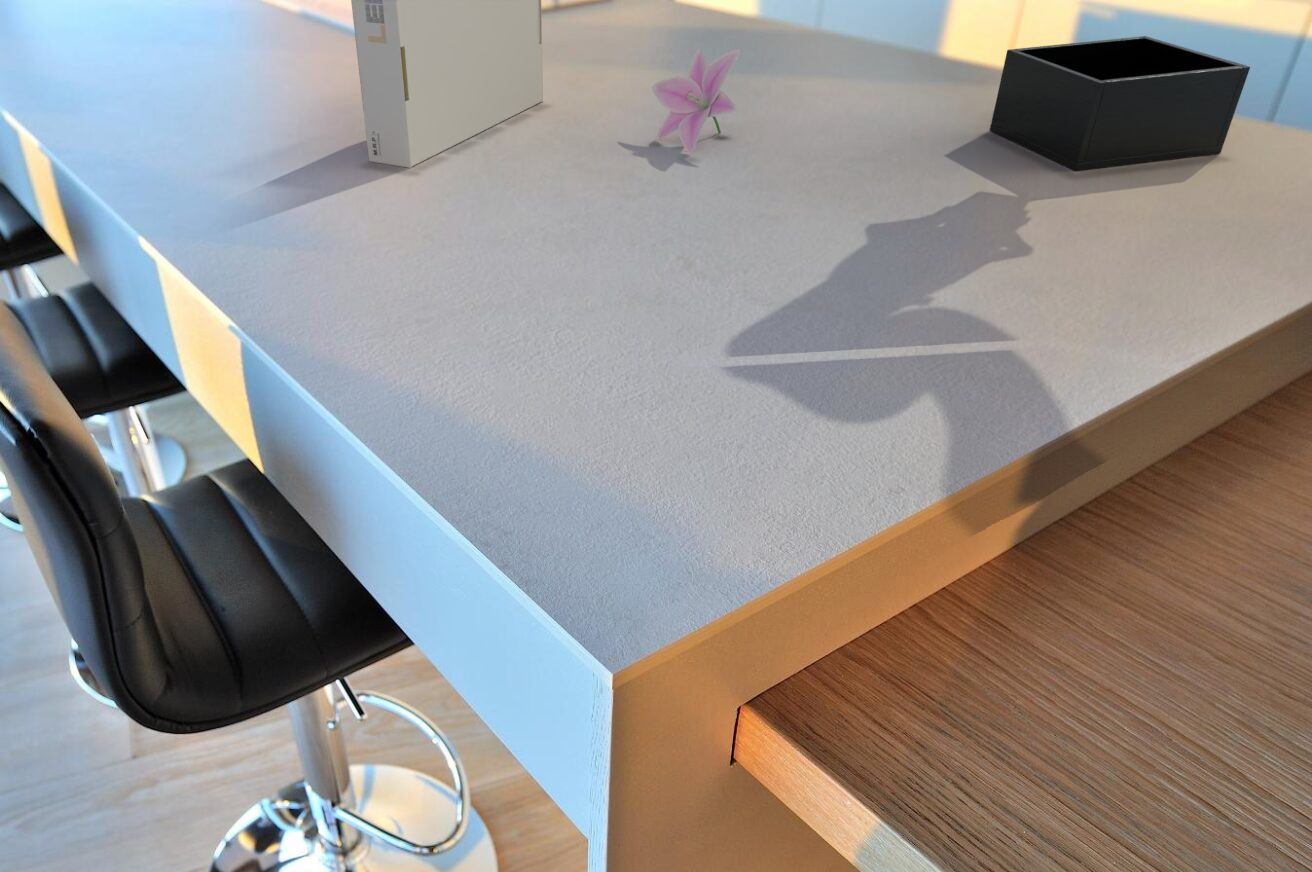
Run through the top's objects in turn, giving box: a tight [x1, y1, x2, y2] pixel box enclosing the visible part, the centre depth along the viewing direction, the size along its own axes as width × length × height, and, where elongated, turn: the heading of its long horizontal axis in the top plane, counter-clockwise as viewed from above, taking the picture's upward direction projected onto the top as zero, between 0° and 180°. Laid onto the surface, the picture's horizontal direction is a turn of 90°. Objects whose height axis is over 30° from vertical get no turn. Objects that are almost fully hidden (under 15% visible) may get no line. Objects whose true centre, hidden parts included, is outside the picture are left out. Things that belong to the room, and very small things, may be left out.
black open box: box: [989, 35, 1251, 172], centre depth 118 cm, size 18×16×9 cm
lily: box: [651, 48, 741, 155], centre depth 124 cm, size 12×12×10 cm
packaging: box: [350, 0, 544, 169], centre depth 128 cm, size 30×6×20 cm, turn 149°
